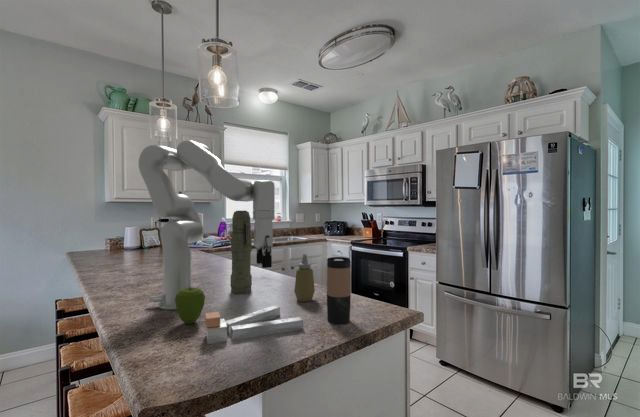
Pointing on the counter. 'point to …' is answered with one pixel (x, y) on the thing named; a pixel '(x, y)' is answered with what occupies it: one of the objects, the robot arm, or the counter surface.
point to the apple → (189, 304)
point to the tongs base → (252, 329)
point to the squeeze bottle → (304, 281)
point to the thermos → (241, 253)
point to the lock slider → (212, 319)
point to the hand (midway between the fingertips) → (263, 265)
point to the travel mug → (338, 290)
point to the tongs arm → (254, 317)
